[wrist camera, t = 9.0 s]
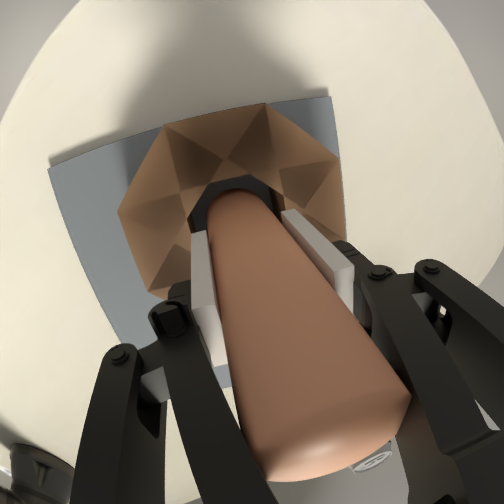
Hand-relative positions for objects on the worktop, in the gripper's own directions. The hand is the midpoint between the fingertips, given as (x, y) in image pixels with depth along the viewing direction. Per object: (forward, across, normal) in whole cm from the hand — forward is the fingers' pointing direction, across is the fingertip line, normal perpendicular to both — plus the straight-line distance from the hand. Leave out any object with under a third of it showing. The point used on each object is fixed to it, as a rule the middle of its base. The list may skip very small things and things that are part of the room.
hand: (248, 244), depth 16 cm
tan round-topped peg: (+5, 0, 0) cm, 5 cm away
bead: (+7, 0, 0) cm, 7 cm away
